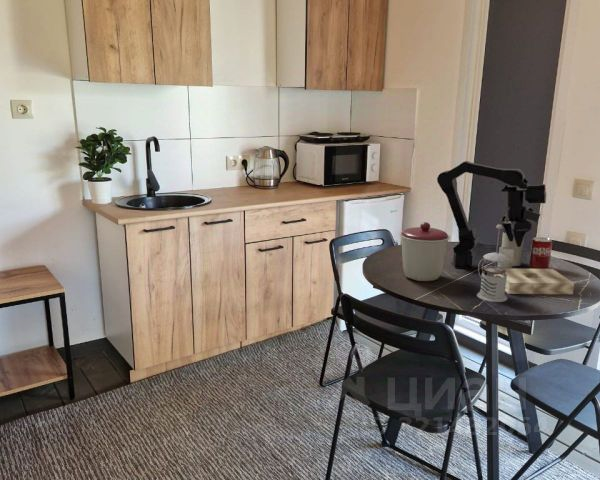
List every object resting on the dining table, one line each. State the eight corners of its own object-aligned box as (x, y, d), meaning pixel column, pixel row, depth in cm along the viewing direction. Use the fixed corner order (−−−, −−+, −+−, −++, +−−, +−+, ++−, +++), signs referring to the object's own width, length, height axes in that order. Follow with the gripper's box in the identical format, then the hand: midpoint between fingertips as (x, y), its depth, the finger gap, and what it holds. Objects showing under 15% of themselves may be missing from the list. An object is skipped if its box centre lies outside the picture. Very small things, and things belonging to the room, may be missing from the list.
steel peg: (500, 274, 197) (503, 249, 195) (496, 271, 201) (499, 246, 199) (511, 274, 197) (514, 249, 195) (507, 271, 201) (509, 246, 199)
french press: (491, 303, 168) (499, 229, 162) (466, 292, 178) (473, 221, 172) (514, 299, 172) (522, 226, 166) (488, 288, 182) (496, 219, 176)
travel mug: (524, 264, 210) (529, 221, 205) (512, 267, 205) (518, 223, 201) (507, 259, 216) (512, 217, 212) (495, 263, 212) (500, 220, 207)
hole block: (508, 293, 177) (509, 282, 176) (492, 278, 192) (493, 268, 191) (572, 294, 177) (574, 283, 176) (551, 279, 192) (552, 268, 191)
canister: (455, 276, 194) (459, 222, 189) (431, 288, 181) (436, 230, 176) (412, 266, 206) (416, 215, 201) (388, 277, 193) (390, 222, 188)
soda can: (550, 271, 201) (554, 242, 198) (530, 270, 202) (534, 241, 199) (546, 266, 208) (549, 237, 205) (526, 265, 209) (530, 236, 206)
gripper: (547, 205, 182) (546, 248, 185) (529, 198, 200) (528, 237, 203) (514, 207, 183) (514, 250, 186) (499, 200, 201) (499, 239, 204)
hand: (514, 244), depth 195 cm, fingers open, 9 cm apart
